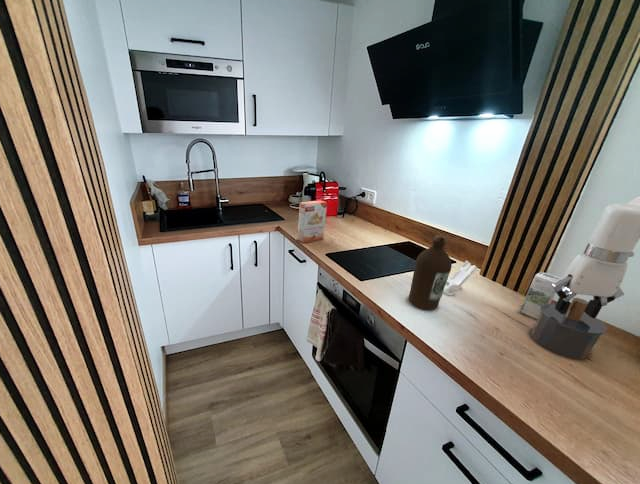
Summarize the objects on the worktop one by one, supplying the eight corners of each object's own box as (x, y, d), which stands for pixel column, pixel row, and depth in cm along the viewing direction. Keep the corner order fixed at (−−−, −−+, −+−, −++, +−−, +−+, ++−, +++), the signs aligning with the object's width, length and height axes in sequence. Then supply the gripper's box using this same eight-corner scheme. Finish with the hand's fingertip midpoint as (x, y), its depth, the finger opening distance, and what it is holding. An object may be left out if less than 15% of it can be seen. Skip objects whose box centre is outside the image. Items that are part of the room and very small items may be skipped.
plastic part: (433, 285, 113) (439, 258, 108) (455, 284, 114) (463, 257, 109) (445, 295, 106) (453, 267, 101) (469, 293, 107) (478, 265, 102)
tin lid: (580, 310, 84) (590, 291, 82) (619, 340, 72) (633, 318, 70) (529, 304, 87) (537, 285, 84) (558, 332, 75) (569, 311, 72)
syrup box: (545, 315, 95) (563, 277, 90) (539, 321, 92) (557, 282, 86) (524, 307, 100) (540, 270, 94) (518, 312, 97) (534, 274, 91)
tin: (567, 333, 87) (580, 309, 84) (600, 362, 76) (616, 337, 73) (522, 327, 89) (532, 304, 86) (547, 354, 78) (560, 329, 75)
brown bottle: (400, 299, 102) (415, 233, 92) (419, 292, 107) (436, 229, 97) (426, 314, 94) (445, 244, 84) (446, 307, 98) (467, 239, 89)
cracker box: (303, 243, 151) (305, 204, 142) (296, 239, 155) (299, 202, 147) (324, 239, 157) (327, 202, 149) (317, 236, 162) (320, 199, 154)
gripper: (633, 251, 73) (600, 310, 80) (556, 245, 76) (530, 301, 83) (662, 264, 66) (623, 326, 74) (576, 256, 69) (547, 316, 77)
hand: (574, 312), depth 78 cm, fingers open, 6 cm apart
